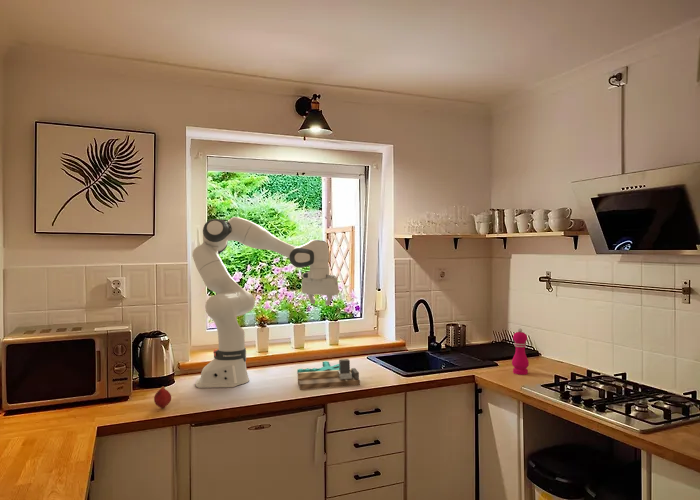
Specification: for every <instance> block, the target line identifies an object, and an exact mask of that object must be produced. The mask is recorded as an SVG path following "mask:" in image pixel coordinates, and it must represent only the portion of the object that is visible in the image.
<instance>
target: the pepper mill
mask: <svg viewBox="0 0 700 500" xmlns="http://www.w3.org/2000/svg"><path fill="white" fill-rule="evenodd" d="M512 340H513V341H514V343H513V344H514V346H513V347H515V352H514V354H513V357H512V359H511V365H512V367H513V368H512V372H513V374H514V375H517V376H518V375H519V376H523V375H524V376H525V375H528V373H529V371H528V370H529V369H528V367H529V365H530V363H529V359H528V357H527V353H526V347H527V341H528V336H527V334H526V333H525V332H523V329H522V328H520V327H518V329H517V331H516V332H515V333H514V334H513V335H512Z"/></svg>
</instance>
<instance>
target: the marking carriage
mask: <svg viewBox="0 0 700 500" xmlns="http://www.w3.org/2000/svg"><path fill="white" fill-rule="evenodd" d="M338 364H339V370H338V377H339V379H340V380H343V379H353V376H352V373H351V372H350V369H351V367H350V366H351V364H350V359H349V358H346V359H345V358H343V359H338Z"/></svg>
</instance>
